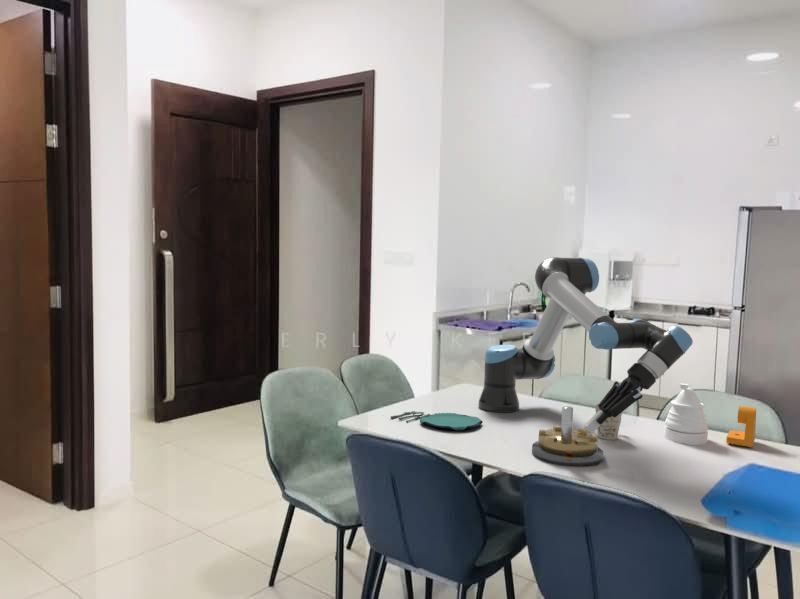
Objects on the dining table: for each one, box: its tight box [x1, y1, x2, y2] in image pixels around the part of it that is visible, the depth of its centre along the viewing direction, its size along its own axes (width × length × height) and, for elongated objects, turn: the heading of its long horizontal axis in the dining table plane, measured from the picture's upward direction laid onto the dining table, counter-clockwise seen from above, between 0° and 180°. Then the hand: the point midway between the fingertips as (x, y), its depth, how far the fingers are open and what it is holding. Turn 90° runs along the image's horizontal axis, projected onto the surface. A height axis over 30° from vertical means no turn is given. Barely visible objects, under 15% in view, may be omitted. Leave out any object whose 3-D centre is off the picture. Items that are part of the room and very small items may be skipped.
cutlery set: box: [390, 410, 483, 431], centre depth 228 cm, size 20×30×2 cm, turn 55°
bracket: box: [725, 405, 757, 448], centre depth 212 cm, size 11×7×12 cm, turn 147°
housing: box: [531, 440, 604, 468], centre depth 193 cm, size 20×20×2 cm
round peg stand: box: [537, 405, 599, 456], centre depth 193 cm, size 17×17×13 cm
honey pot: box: [663, 382, 709, 445], centre depth 215 cm, size 13×13×18 cm
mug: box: [594, 403, 623, 441], centre depth 216 cm, size 8×13×10 cm, turn 137°
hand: (587, 429), depth 187 cm, fingers closed
